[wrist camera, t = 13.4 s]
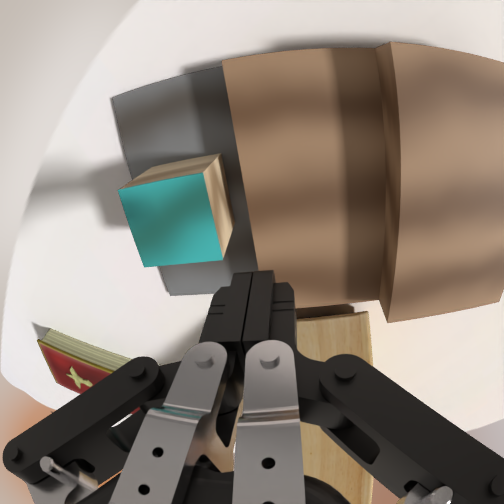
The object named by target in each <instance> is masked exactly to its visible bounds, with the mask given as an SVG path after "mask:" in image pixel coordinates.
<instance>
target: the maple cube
mask: <svg viewBox="0 0 504 504" xmlns="http://www.w3.org/2000/svg"><path fill="white" fill-rule="evenodd" d="M118 192H119V195H120V199H121V202H122V205H123V208H124V211H125V214H126V217H127V220H128V223H129V226H130V229H131V232H132V235H133V238H134V241H135V244H136V246H137V249H138V252H139V255H140V257H141V260H142V263H143V265H144V267H153V266H164V265H175V264H186V263H197V262H208V261H219V260H223V258H224V254H225V251H226V248H227V245H228V242H229V239H230V236H231V233H232V230H233V227H234V224H235V220H234V215H233V210H232V205H231V200H230V195H229V190H228V185H227V180H226V175H225V170H224V165H223V160H222V155H221V153H220V154H214V155H208V156H203V157H197V158H192V159H187V160H182V161H177V162H172V163H168V164H163V165H158V166H154V167H151V168H150V169H148V170H147V171H145V172H144V173H142V174H141V175H139V176H138V177H136V178H135V179H133V180H132V181H130V182H129V183H128V184H126V185H125V186H123V187H122V188H120V189H119V190H118Z"/></svg>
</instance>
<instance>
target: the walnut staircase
mask: <svg viewBox="0 0 504 504" xmlns="http://www.w3.org/2000/svg"><path fill="white" fill-rule="evenodd" d="M113 102H114V107H115V112H116V116H117V121H118V125H119V130H120V134H121V138H122V142H123V147H124V151H125V155H126V158H127V162H128V166H129V170H130V174H131V177H132V180H133V179H135V178H136V177H138V176H139V175H141V174H142V173H144V172H145V171H147V170H148V169H150V168H151V167H154V166H158V165H163V164H168V163H172V162H177V161H182V160H187V159H192V158H197V157H203V156H208V155H214V154H220V153H221V155H222V160H223V165H224V170H225V175H226V180H227V185H228V190H229V195H230V200H231V205H232V210H233V215H234V220H235V224H234V227H233V230H232V233H231V236H230V239H229V242H228V245H227V248H226V251H225V254H224V258H223V260H219V261H208V262H197V263H186V264H175V265H164V266H159V267H160V269H161V272H162V275H163V278H164V280H165V283H166V286H167V289H168V291H169V294H170V296H177V295H197V294H215V293H216V292H217V291H218V290H219V289H220V288H221V287H225V286H230V284H231V281H232V277H233V274H234V273H238V272H251V271H253V272H254V271H263V270H274V274H275V280H276V283H281V282H288V283H289V284H290V285H291V287H292V288H293V290H294V296H295V307H296V308H306V307H317V306H328V305H338V304H347V303H356V302H365V301H373V300H379V301H380V304H381V307H382V309H383V312H384V315H385V318H386V320H387V323H392V322H398V321H405V320H411V319H417V318H423V317H429V316H434V315H440V314H445V313H450V312H455V311H460V310H465V309H470V308H475V307H479V306H483V305H488V304H492V303H496V302H499V301H500V298H501V295H502V293H503V290H504V63H503V62H500V61H497V60H493V59H489V58H486V57H482V56H478V55H474V54H469V53H465V52H460V51H455V50H450V49H444V48H438V47H432V46H425V45H417V44H408V43H398V42H389V43H386V44H384V45H382V46H379V47H377V48H320V49H303V50H291V51H281V52H272V53H264V54H257V55H250V56H244V57H238V58H233V59H227V60H222V66H221V67H216V68H211V69H206V70H202V71H198V72H193V73H189V74H185V75H182V76H178V77H174V78H170V79H167V80H163V81H160V82H157V83H153V84H150V85H147V86H144V87H141V88H138V89H135V90H132V91H129V92H126V93H123V94H120V95H118V96H115V97H113Z"/></svg>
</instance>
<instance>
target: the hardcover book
mask: <svg viewBox="0 0 504 504" xmlns="http://www.w3.org/2000/svg"><path fill="white" fill-rule="evenodd" d="M37 342H38V344H39V347H40V349H41V351H42V353H43V356H44V358H45V360H46V362H47V364H48V366H49V369H50V371H51V373H52V375H53V377H54V379H55V381H56V383H58V384H60V385H62V386H64V387H66V388H68V389H70V390H73V391H75V392H77V393H79V394H82V393H83V392H85V391H86V390H88V389H89V388H91V387H92V386H94V385H95V384H96V383H98V382H99V381H101V380H102V379H104V378H105V377H107V376H108V375H110V374H111V373H113V372H114V371H115V370H117V369H118V368H120V367H121V366H123V365H124V364H126V363H127V362H129V361H130V360H132V359H130V358H127V357H124V356H121V355H118V354H115V353H112V352H109V351H107V350H104V349H101V348H98V347H95V346H93V345H90V344H88V343H85V342H82V341H80V340H77V339H75V338H72V337H70V336H67V335H65V334H63V333H60V332H58V331H56V330H53V329H51V328H50V329H49V331H48V332H47V333H46V335H45V336H44V338H43V339H42V340H40V339H38V340H37ZM138 410H140V408H139V407H138V408H137V409H135V410H134V411H133V412H131V414H134V413H136V412H137V411H138Z"/></svg>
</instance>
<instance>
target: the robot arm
mask: <svg viewBox="0 0 504 504" xmlns="http://www.w3.org/2000/svg"><path fill="white" fill-rule="evenodd" d="M243 391H244V398H242V397H243ZM138 407H139V408H140V410H138V411H137V412H136V413H134V414H133V415H131V416H130V417H129V418H127V419H126V420H124V421H123V422H121V423H120V424H119V425H117V426H115V427H111V426H113V425H114V424H116V423H117V422H119V421H120V420H121V419H123V418H124V417H126V416H127V415H128V414H130V413H131V412H133V411H134V410H135V409H137V408H138ZM242 410H243V414H242ZM241 414H242V417H241ZM300 421H301V422H305V423H309V424H313V425H317V426H320V428H321V429H322V431H323V432H324V433H325V434H327V435H328V436H329V437H330V438H331V439H332V440H333V441H334V442H335V443H336V444H337V445H338V446H339V447H340V448H342V449H343V450H344V451H345V452H346V453H347V454H348V455H349V456H350V457H351V458H353V459H354V460H355V461H356V462H357V463H358V464H359V465H360V466H362V467H363V468H364V469H365V470H366V471H367V472H368V473H370V474H371V475H372V476H373V477H374V478H375V479H377V480H378V481H379V482H380V483H381V484H383V485H384V486H385V487H386V488H388V489H389V490H390V491H391V492H392V493H394V494H395V495H396V496H397V497H398V498H400V499H399V500H398V502H397V503H396V504H504V458H502V457H501V456H500V455H498V454H496V453H495V452H494V451H492V450H491V449H489V448H488V447H486V446H485V445H483V444H482V443H480V442H479V441H477V440H476V439H474V438H473V437H471V436H470V435H469V434H467V433H466V432H464V431H463V430H461V429H460V428H458V427H457V426H456V425H454V424H453V423H451V422H450V421H448V420H447V419H446V418H444V417H443V416H441V415H440V414H438V413H437V412H436V411H434V410H433V409H431V408H430V407H429V406H427V405H426V404H424V403H423V402H421V401H420V400H419V399H417V398H416V397H414V396H413V395H412V394H410V393H409V392H407V391H406V390H405V389H403V388H402V387H400V386H399V385H398V384H396V383H395V382H394V381H392V380H391V379H389V378H388V377H387V376H385V375H384V374H382V373H381V372H380V371H378V370H377V369H376V368H374V367H373V366H371V365H370V364H369V363H367V362H366V361H365V360H363V359H362V358H360V357H358V356H356V355H352V354H339V355H335V356H333V357H331V358H329V359H328V360H326V361H325V362H322V361H317V360H313V359H309V358H307V357H305V356H304V355H302V354H301V353H300V352H299V351H298V349H297V318H296V307H295V296H294V290H293V288H292V287H291V285H290V284H289V283H288V282H281V283H276V280H275V274H274V270H263V271H254V272H253V271H251V272H238V273H234V274H233V277H232V281H231V284H230V286H225V287H221V288H220V289H219V290H218V291H217V292H216V293H215V294H214V295H213V298H212V301H211V305H210V308H209V311H208V315H207V317H206V321H205V324H204V327H203V330H202V334H201V337H200V340H199V344H197V345H195V346H193V347H191V348H190V349H189V350H188V351H187V352H186V353H185V355H184V357H183V359H182V361H179V362H175V363H171V364H167V365H162V366H158V364H157V362H156V361H155V360H154V359H152V358H150V357H137V358H134V359H132V360H130V361H129V362H127V363H126V364H124V365H123V366H121V367H120V368H118V369H117V370H115V371H114V372H113V373H111V374H110V375H108V376H107V377H105V378H104V379H102V380H101V381H99V382H98V383H96V384H95V385H94V386H92V387H91V388H89V389H88V390H86V391H85V392H83V393H82V394H80V395H79V396H77V397H76V398H74V399H73V400H71V401H70V402H68V403H67V404H65V405H64V406H62V407H61V408H59V409H58V410H56V411H55V412H53V413H52V414H50V415H49V416H47V417H46V418H44V419H43V420H41V421H40V422H38V423H37V424H35V425H34V426H32V427H31V428H29V429H28V430H26V431H24V432H23V433H22V434H20V435H18V436H17V437H15V438H14V439H12V440H11V441H10V442H8V444H7V445H6V447H5V449H4V451H3V463H4V465H5V467H6V469H7V470H9V471H10V472H11V473H13V474H14V475H16V476H17V477H19V478H21V479H22V480H23V481H24V482H25V483H26V484H27V486H28V489H29V491H30V494H31V496H32V499H33V501H34V503H35V504H351V503H350V502H349V501H348V500H347V499H346V498H345V497H344V496H343V495H342V494H341V493H340V492H339V491H338V490H336V489H335V488H334V487H332V486H331V485H329V484H327V483H326V482H324V481H322V480H319V479H317V478H314V477H311V476H308V475H304V471H303V456H302V442H301V429H300ZM235 440H236V448H235V465H234V462H233V448H234V444H235ZM233 465H234V471H233ZM122 469H123V470H122ZM121 470H122V472H121V473H119V474H118V475H117V476H115V477H114V478H112V479H111V480H110V481H108V482H107V483H105V484H104V485H103V486H101V487H100V488H98V485H100V484H101V483H103V482H104V481H106V480H107V479H109V478H110V477H112V476H113V475H115V474H116V473H118V472H119V471H121Z"/></svg>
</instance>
